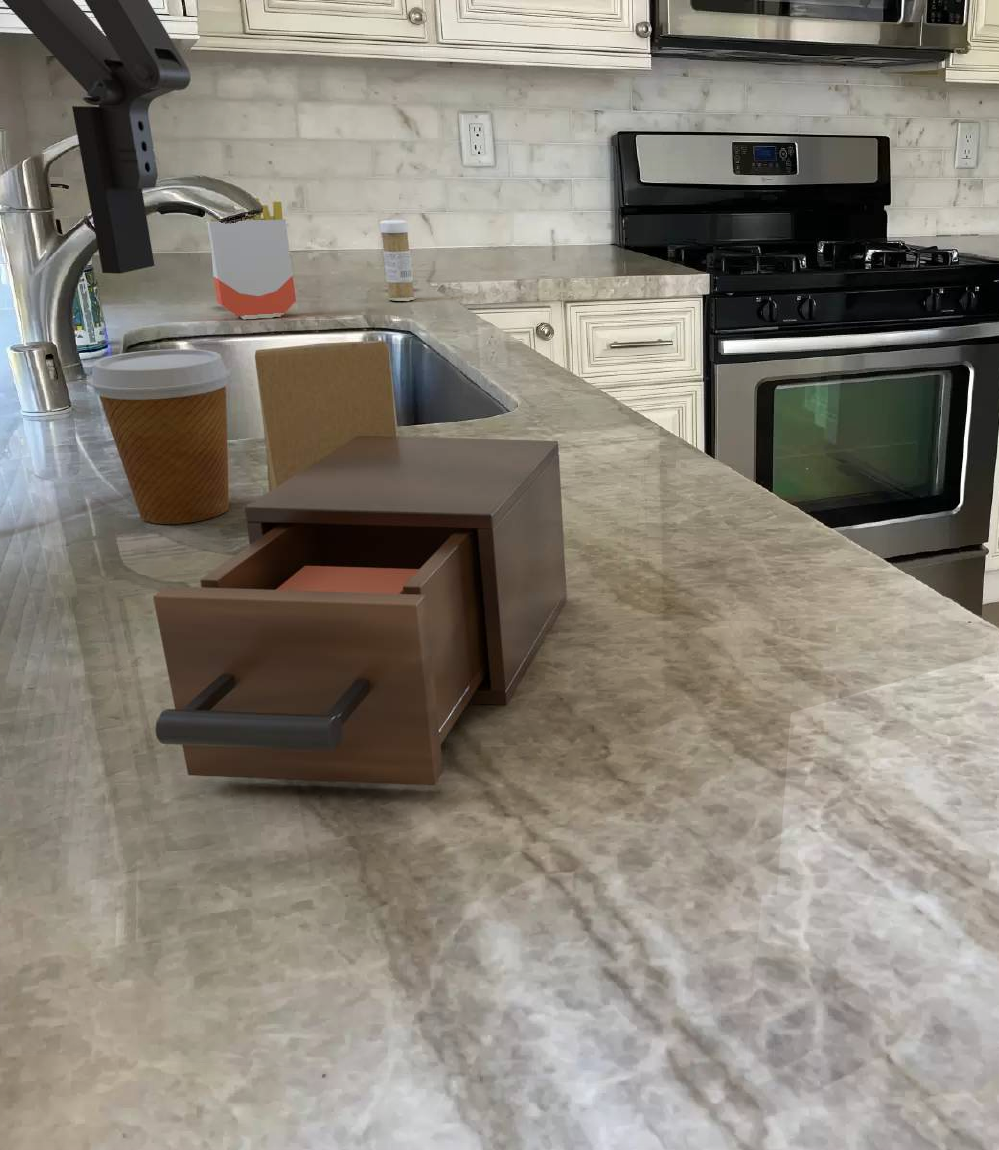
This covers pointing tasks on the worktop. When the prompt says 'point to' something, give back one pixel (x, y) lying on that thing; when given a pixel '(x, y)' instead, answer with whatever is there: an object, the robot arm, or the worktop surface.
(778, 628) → the worktop surface
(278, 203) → the french fries container
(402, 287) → the sprinkles bottle
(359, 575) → the block
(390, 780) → the drawer
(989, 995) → the worktop surface
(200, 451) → the disposable coffee cup
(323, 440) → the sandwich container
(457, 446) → the cabinet
